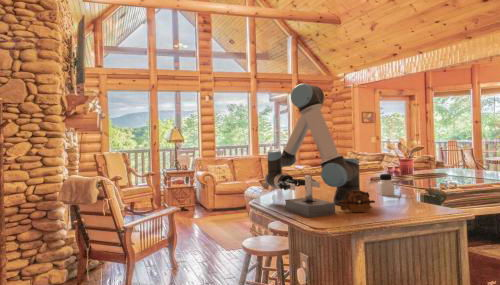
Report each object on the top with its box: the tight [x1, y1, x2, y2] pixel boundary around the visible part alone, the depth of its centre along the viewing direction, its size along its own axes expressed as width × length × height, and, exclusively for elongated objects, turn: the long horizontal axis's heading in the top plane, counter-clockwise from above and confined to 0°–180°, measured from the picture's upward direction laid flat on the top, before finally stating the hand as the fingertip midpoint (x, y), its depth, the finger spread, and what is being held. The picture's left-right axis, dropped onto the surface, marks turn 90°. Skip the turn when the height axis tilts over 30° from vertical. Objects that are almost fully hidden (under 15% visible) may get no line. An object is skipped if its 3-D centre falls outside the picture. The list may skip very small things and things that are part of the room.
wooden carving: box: [338, 190, 376, 213], centre depth 171 cm, size 16×5×10 cm, turn 87°
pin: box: [304, 174, 314, 203], centre depth 175 cm, size 3×3×16 cm
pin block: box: [285, 197, 336, 219], centre depth 175 cm, size 20×14×5 cm
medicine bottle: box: [377, 173, 395, 197], centre depth 217 cm, size 7×7×12 cm
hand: (307, 186), depth 176 cm, fingers open, 13 cm apart
